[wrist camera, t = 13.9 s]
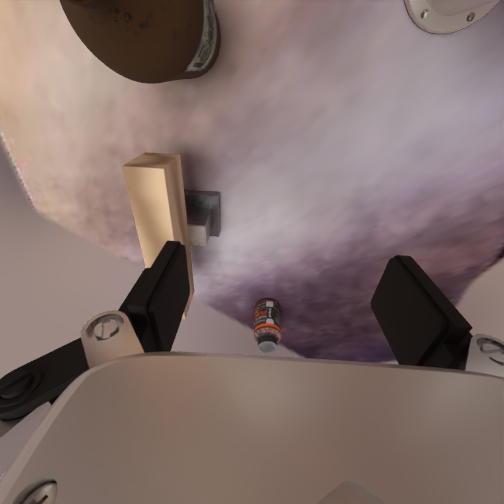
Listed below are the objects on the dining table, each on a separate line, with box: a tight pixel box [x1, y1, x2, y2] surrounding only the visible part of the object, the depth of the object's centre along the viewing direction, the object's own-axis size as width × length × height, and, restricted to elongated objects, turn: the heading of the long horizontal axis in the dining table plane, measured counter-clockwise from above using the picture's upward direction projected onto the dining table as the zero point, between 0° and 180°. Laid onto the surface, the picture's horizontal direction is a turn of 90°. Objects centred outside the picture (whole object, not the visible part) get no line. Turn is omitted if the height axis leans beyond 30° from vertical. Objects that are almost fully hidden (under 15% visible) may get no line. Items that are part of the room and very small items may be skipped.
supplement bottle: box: [254, 299, 281, 353], centre depth 55 cm, size 6×6×11 cm
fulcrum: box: [184, 190, 220, 246], centre depth 43 cm, size 12×8×9 cm, turn 87°
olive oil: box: [60, 0, 220, 84], centre depth 22 cm, size 11×11×25 cm
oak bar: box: [122, 153, 194, 319], centre depth 36 cm, size 4×24×6 cm, turn 177°
